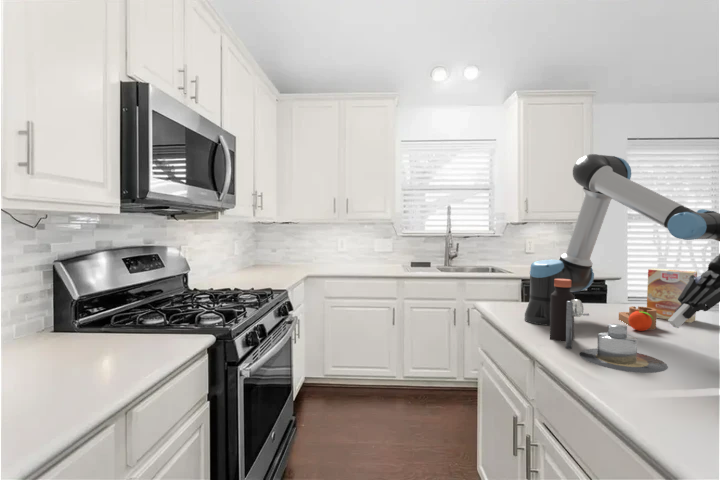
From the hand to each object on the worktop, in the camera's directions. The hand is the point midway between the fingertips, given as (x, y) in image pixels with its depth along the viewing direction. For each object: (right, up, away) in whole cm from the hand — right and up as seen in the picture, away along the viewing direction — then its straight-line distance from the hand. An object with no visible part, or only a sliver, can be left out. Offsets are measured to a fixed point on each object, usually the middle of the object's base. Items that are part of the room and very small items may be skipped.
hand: (672, 324), depth 114 cm
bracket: (+19, -9, +45) cm, 50 cm away
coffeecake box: (+39, -9, +54) cm, 67 cm away
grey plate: (-15, -10, -2) cm, 18 cm away
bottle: (-21, -10, +19) cm, 30 cm away
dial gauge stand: (-22, -10, +9) cm, 26 cm away
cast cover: (-16, -9, -1) cm, 19 cm away
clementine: (+14, -9, +34) cm, 38 cm away
